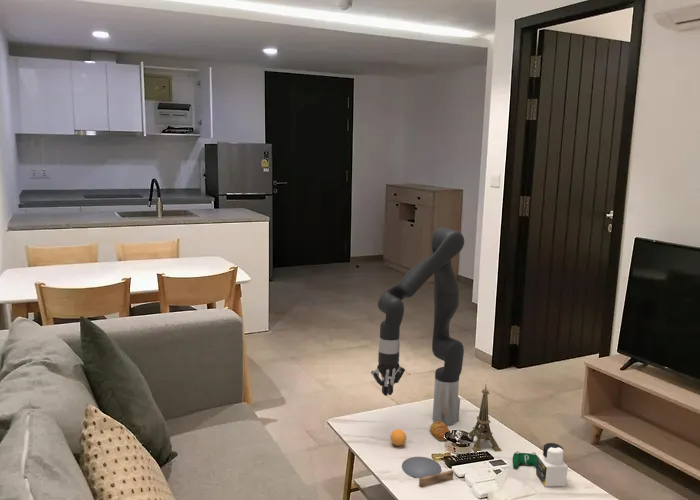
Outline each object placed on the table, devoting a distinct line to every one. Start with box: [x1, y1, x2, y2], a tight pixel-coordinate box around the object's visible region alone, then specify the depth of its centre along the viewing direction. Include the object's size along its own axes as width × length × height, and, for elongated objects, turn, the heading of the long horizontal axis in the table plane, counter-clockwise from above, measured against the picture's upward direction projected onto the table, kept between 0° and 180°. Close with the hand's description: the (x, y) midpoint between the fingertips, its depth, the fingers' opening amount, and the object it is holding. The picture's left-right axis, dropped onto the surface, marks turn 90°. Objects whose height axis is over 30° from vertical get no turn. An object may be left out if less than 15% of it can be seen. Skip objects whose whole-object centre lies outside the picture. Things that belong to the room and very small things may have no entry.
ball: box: [390, 428, 407, 447], centre depth 209 cm, size 6×6×6 cm
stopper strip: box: [418, 469, 454, 488], centre depth 187 cm, size 12×1×2 cm, turn 114°
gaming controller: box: [512, 450, 538, 470], centre depth 199 cm, size 9×4×6 cm
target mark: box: [401, 456, 442, 479], centre depth 196 cm, size 13×13×1 cm
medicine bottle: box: [535, 442, 569, 488], centre depth 189 cm, size 7×7×12 cm
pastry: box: [429, 421, 450, 442], centre depth 217 cm, size 9×7×4 cm
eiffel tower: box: [468, 379, 503, 453], centre depth 209 cm, size 11×11×25 cm
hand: (387, 394), depth 216 cm, fingers closed
